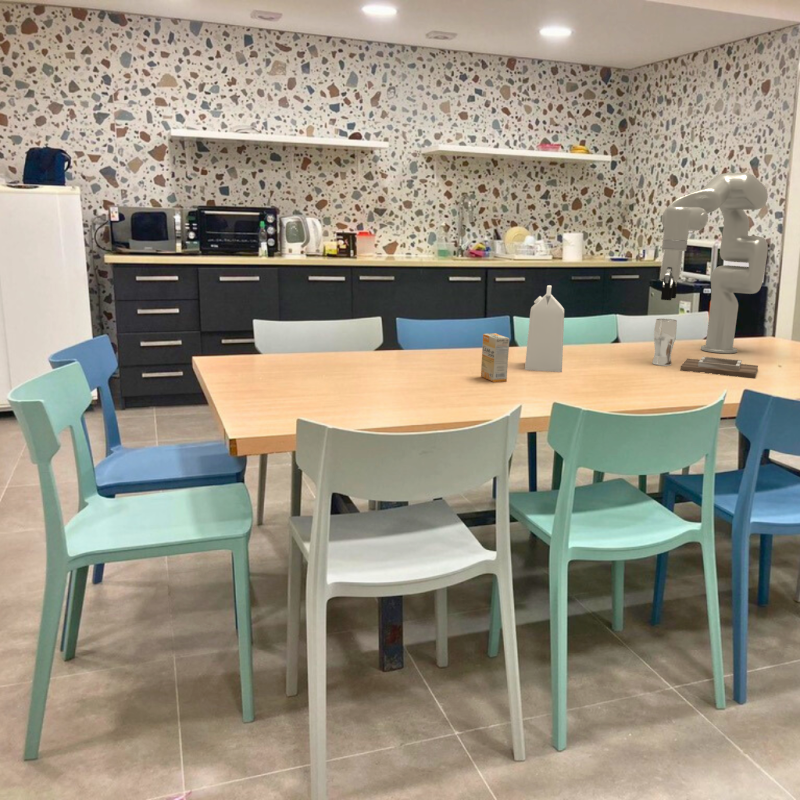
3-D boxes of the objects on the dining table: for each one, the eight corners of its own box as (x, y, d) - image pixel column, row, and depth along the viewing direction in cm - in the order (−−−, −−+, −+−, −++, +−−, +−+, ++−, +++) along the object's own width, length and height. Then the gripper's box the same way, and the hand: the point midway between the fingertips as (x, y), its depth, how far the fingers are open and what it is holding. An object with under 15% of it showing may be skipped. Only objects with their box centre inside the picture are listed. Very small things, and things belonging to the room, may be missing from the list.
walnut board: (686, 362, 259) (687, 354, 258) (757, 370, 249) (758, 361, 248) (680, 370, 245) (681, 361, 244) (754, 378, 235) (756, 368, 235)
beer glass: (674, 366, 251) (679, 321, 248) (652, 365, 252) (656, 320, 249) (671, 363, 258) (675, 319, 254) (649, 361, 259) (654, 317, 256)
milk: (561, 372, 237) (568, 288, 231) (524, 369, 239) (530, 286, 233) (561, 365, 249) (567, 285, 243) (526, 363, 251) (531, 283, 245)
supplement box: (479, 376, 227) (482, 333, 224) (494, 376, 228) (496, 333, 225) (492, 382, 219) (495, 337, 216) (507, 381, 221) (510, 337, 218)
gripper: (666, 245, 255) (660, 296, 259) (657, 245, 240) (652, 300, 244) (690, 246, 252) (683, 298, 256) (682, 246, 237) (676, 301, 241)
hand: (668, 298), depth 250 cm, fingers open, 9 cm apart
